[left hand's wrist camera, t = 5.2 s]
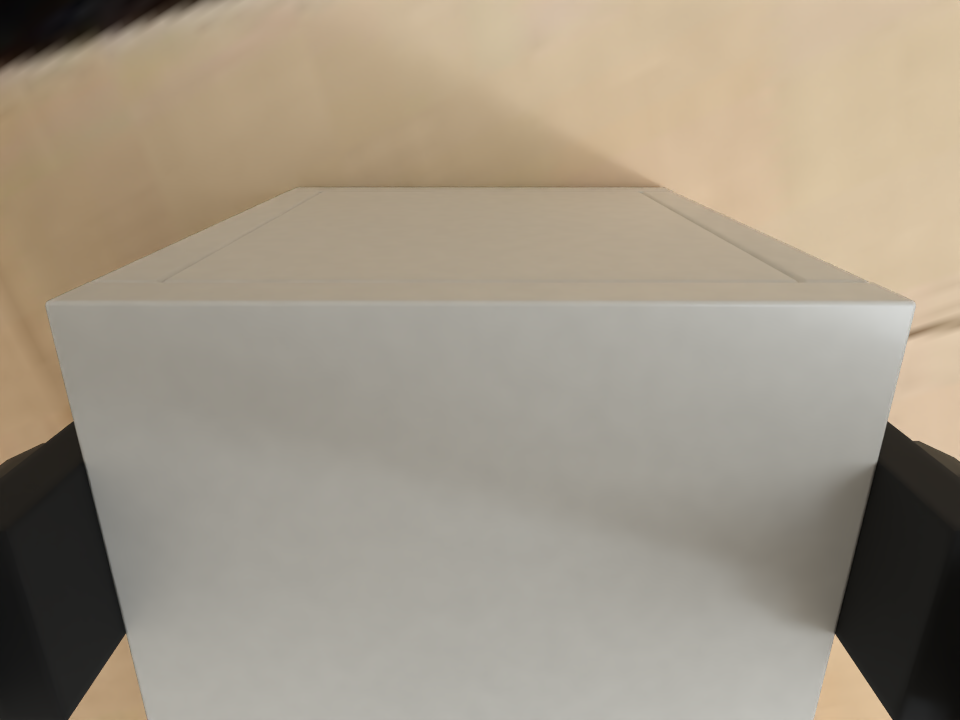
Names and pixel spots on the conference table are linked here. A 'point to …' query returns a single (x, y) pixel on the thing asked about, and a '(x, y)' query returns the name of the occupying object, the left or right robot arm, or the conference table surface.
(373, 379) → the cabinet
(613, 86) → the conference table surface
